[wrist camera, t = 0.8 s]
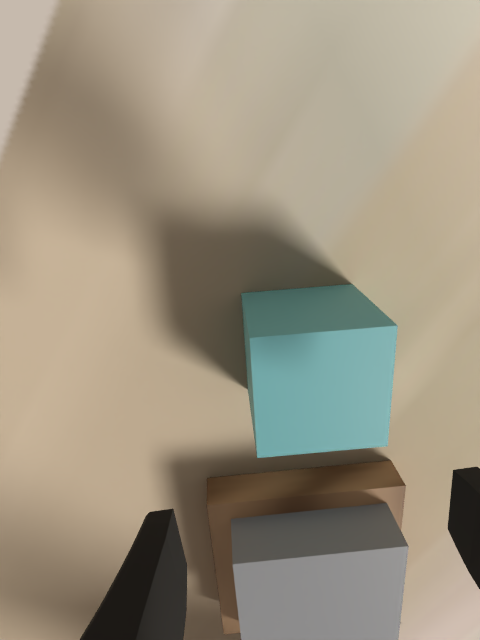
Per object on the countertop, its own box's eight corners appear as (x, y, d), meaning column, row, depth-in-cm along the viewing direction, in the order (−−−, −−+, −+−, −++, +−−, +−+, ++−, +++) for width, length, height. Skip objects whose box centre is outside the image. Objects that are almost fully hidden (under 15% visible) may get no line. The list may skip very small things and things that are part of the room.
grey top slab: (386, 502, 21) (408, 546, 18) (378, 607, 24) (396, 656, 21) (230, 518, 21) (232, 564, 18) (242, 621, 24) (244, 672, 21)
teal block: (351, 283, 18) (397, 325, 14) (348, 380, 20) (387, 446, 16) (241, 292, 18) (249, 337, 14) (247, 388, 20) (257, 457, 15)
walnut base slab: (386, 452, 23) (405, 485, 20) (376, 576, 26) (392, 616, 24) (207, 469, 22) (206, 505, 20) (223, 592, 26) (223, 634, 24)
